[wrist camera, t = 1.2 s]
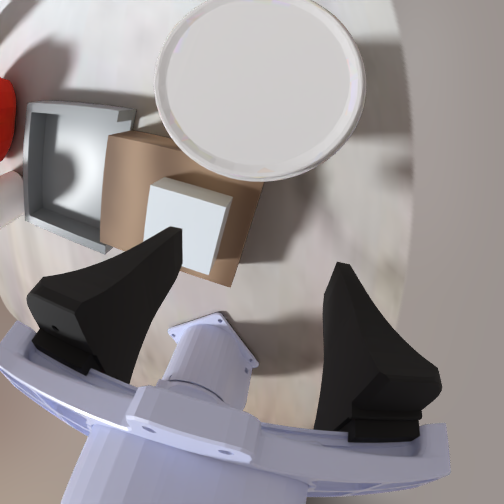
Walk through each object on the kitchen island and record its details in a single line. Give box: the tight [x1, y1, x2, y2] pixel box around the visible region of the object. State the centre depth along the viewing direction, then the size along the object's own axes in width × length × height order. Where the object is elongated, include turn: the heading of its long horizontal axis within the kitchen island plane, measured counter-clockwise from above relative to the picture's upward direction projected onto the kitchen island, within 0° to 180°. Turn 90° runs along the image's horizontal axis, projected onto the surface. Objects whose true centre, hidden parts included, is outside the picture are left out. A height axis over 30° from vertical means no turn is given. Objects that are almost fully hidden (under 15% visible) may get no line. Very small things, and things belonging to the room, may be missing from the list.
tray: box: [23, 100, 137, 254], centre depth 24 cm, size 13×14×3 cm
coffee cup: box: [154, 0, 367, 182], centre depth 15 cm, size 9×9×12 cm
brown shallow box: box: [100, 130, 264, 288], centre depth 23 cm, size 13×10×4 cm
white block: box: [143, 177, 233, 275], centre depth 21 cm, size 6×6×2 cm
